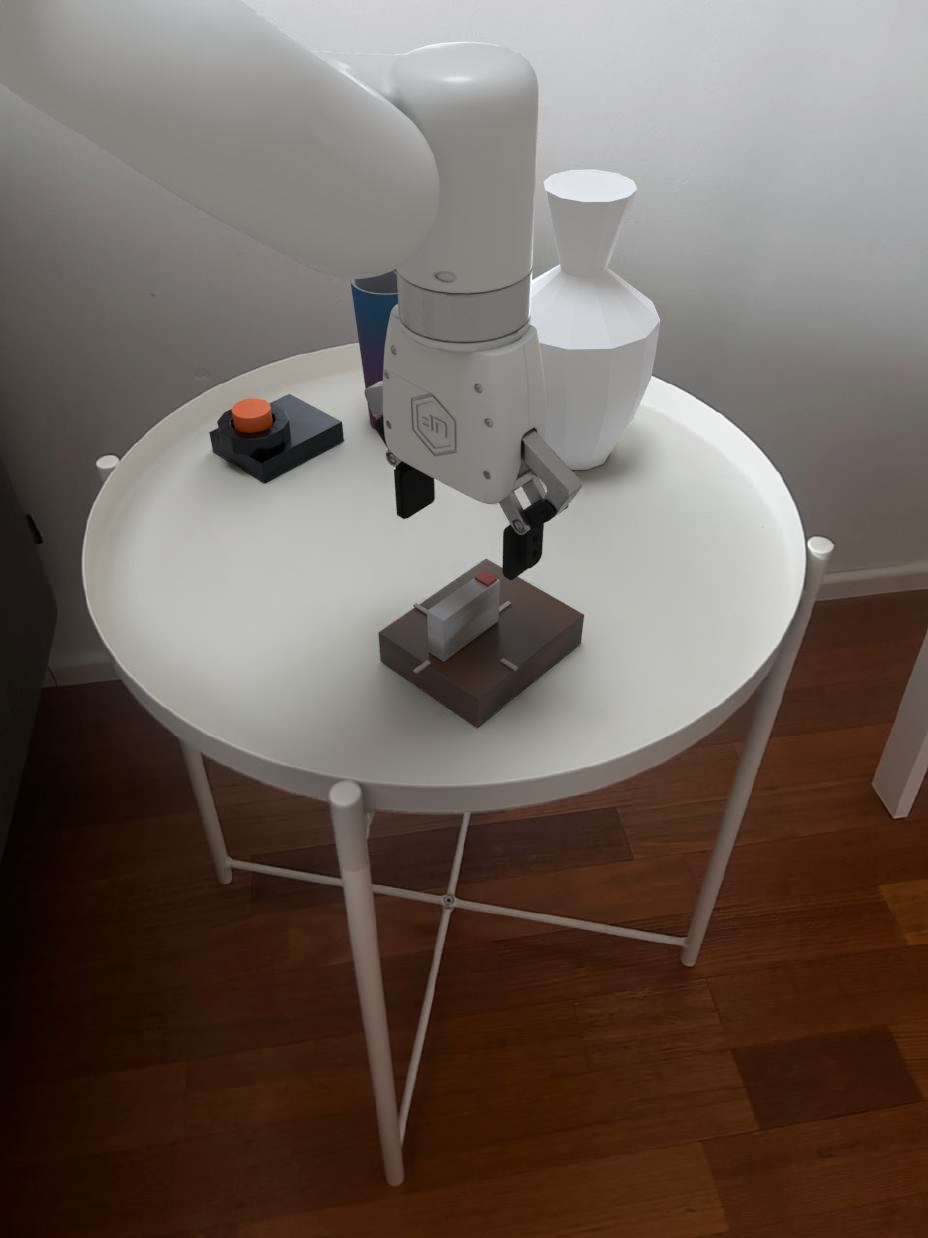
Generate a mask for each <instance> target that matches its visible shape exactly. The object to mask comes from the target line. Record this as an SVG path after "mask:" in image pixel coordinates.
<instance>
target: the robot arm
mask: <svg viewBox="0 0 928 1238" xmlns="http://www.w3.org/2000/svg"><path fill="white" fill-rule="evenodd" d="M0 85H2V86H3V87H5V88H6V89H8V90H9V91H10V92H12V93H13V94H15V95H16V96H17V97H19V98H20V99H21V100H23V101H24V102H26V103H27V104H28V105H30V106H32V107H33V108H34V109H36V110H38V111H40V112H41V113H43V114H44V115H46V116H47V117H49V118H52V119H53V120H54V121H56V122H57V123H60V124H61V125H63V126H65V127H67V128H68V129H70V130H72V131H74V132H75V133H77V134H79V135H80V136H82V137H83V138H85V139H86V140H88V141H89V142H92V143H93V144H95V145H96V146H98V147H100V148H101V149H103V150H105V151H106V152H108V153H109V154H111V155H112V156H114V157H115V158H117V159H118V160H120V161H121V162H123V163H124V164H125V165H127V166H129V167H130V168H132V169H134V170H135V171H137V172H138V173H139V174H141V175H143V176H145V177H146V178H148V179H149V180H151V181H153V182H154V183H156V184H157V185H159V186H161V187H162V188H163V189H165V190H166V191H169V192H170V193H172V194H173V195H174V196H176V197H178V198H180V199H181V200H183V201H185V202H186V203H188V204H190V205H192V206H193V207H195V208H196V209H199V210H200V211H202V212H204V213H206V214H207V215H209V216H211V217H212V218H214V219H216V220H217V221H220V222H221V223H223V224H225V225H227V226H229V227H230V228H233V229H234V230H236V231H238V232H240V233H242V234H244V235H246V236H248V237H250V238H251V239H253V240H255V241H257V242H259V243H261V244H262V245H265V246H267V247H268V248H270V249H272V250H274V251H276V252H278V253H280V254H282V255H284V256H285V257H287V258H289V259H291V260H293V261H295V262H297V263H299V264H301V265H303V266H304V267H307V268H310V269H311V270H314V271H316V272H318V273H321V274H324V275H327V276H331V277H335V278H336V277H337V278H342V279H349V280H350V279H365V278H371V277H377V276H380V275H383V274H385V273H388V272H391V271H393V272H394V273H395V274H396V275H397V291H398V304H397V305H395V306H394V307H393V309H392V310H391V314H390V318H389V323H388V328H387V335H386V341H385V351H384V366H383V381H380V382H378V383H376V384H374V385H372V386H370V387H368V388H366V389H365V388H364V391H363V392H364V393H363V394H364V397H365V399H366V402H368V403H367V405H368V404H369V407H370V409H371V412H372V414H373V417H376V420H375V423H374V424H375V429H376V430H375V429H374V430H375V431H376V432H377V434H378V435H379V437H380V438H381V441H382V442H383V443H384V445H385V447H386V449H387V450H386V451H385V459H386V462H387V463H388V464H389V465H390V466H391V467H393V468H394V469H393V478H394V479H393V480H394V492H395V494H394V496H395V508H396V516H397V517H399V518H401V519H402V520H406V519H410V518H411V517H413V516H414V515H416V514H417V513H419V512H421V511H422V510H423V509H425V508H427V507H429V506H430V505H432V504H433V503H434V502H435V499H436V488H435V480H436V481H438V482H440V483H441V484H444V485H446V486H447V487H449V488H451V489H453V490H455V491H457V492H458V493H461V494H463V495H465V496H467V497H469V498H470V499H473V500H475V501H477V502H480V503H482V504H487V505H497V504H499V507H500V508H501V510H502V511H503V513H504V516H505V517H506V519H507V521H508V523H509V525H507V526H505V528H504V529H503V530H502V531H503V532H502V566H501V567H502V573H503V576H504V577H505V578H507V579H509V580H513V579H515V578H516V577H519V576H521V575H522V574H523V573H524V572H526V571H527V570H530V569H532V568H533V567H535V566H536V565H537V564H538V563H539V562H540V560H541V559H542V556H543V547H544V546H543V545H544V544H543V543H544V531H545V530H544V529H545V523H549V521H551V520H552V519H554V518H556V517H558V515H559V514H561V513H563V512H564V511H565V510H567V509H568V508H569V504H570V503H572V501H573V500H574V499H575V497H576V496H577V495H578V493H580V491H581V490H582V488H583V483H582V480H581V479H580V477H578V475H577V474H576V473H575V472H574V470H571V469H570V468H569V467H568V466H567V465H566V464H565V463H564V462H563V460H562V459H561V458H560V457H559V456H558V455H557V454H556V453H555V452H554V451H553V450H552V449H551V448H550V447H549V445H548V444H547V443H546V442H545V441H546V406H545V386H544V375H543V365H542V358H541V350H540V344H539V339H538V333H537V329H536V328H535V327H534V326H532V325H531V324H530V322H531V293H532V280H533V267H534V266H533V265H534V242H535V241H534V239H535V211H536V187H537V186H536V184H537V157H538V134H539V133H538V131H539V103H540V100H539V82H538V77H537V74H536V71H535V68H534V66H533V65H532V63H531V61H530V60H529V59H527V58H526V56H524V55H523V54H522V53H520V52H519V51H517V50H515V49H511V48H509V47H507V46H503V45H499V44H495V43H489V42H479V41H450V42H440V43H434V44H428V45H425V46H422V47H417V48H415V49H412V50H410V51H408V52H406V53H353V52H339V51H338V52H336V51H326V50H325V51H323V50H310V49H309V48H307V47H306V46H305V45H304V44H302V43H300V41H298V40H297V39H295V38H293V37H292V36H291V35H289V34H288V33H286V32H285V31H284V30H283V29H281V28H279V26H276V25H275V24H274V23H272V22H271V21H269V20H268V19H267V18H266V17H265V16H263V15H262V14H260V13H259V12H257V11H256V10H255V9H253V8H251V6H249V5H248V4H246V3H245V2H244V1H242V0H0ZM541 481H542V482H541ZM542 483H543V484H544V486H545V487H546V490H545V488H544V486H543V484H542ZM520 488H521V489H522V490H523V493H524V494H525V496H526V497H527V500H528V501H529V503H530V504H529V505H528V506H526V507H525V508H523V505H522V504H521V502H520V500H519V498H518V495H516V493H515V491H517V490H518V489H520Z"/></svg>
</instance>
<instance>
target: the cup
mask: <svg viewBox="0 0 928 1238" xmlns="http://www.w3.org/2000/svg"><path fill="white" fill-rule="evenodd" d="M349 280H350V281H349V282H350V288H351V295H352V303H353V310H354V317H355V323H356V331H357V339H358V346H359V352H360V360H361V367H362V374H363V381H364V390H365V389H366V388H368V387H370V386H372V385H374V384H376V383H378V382H380V381H383V366H384V351H385V341H386V335H387V328H388V323H389V318H390V314H391V310H392V309H393V307H394V306H395V305H397V304H398V291H397V275H396V274H395V273H394V272H393V271H391V272H388V273H385V274H383V275H380V276H377V277H371V278H365V279H349ZM366 402H367V401H366ZM367 409H368V417H369V423H370V426H371V427H372V428H373V429H374V430H375V431H376V429H375V424H374V423H375V420H376V417H373V414H372V412H371V409H370V407H369V404H368V402H367Z"/></svg>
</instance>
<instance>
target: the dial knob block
mask: <svg viewBox="0 0 928 1238" xmlns="http://www.w3.org/2000/svg"><path fill="white" fill-rule="evenodd" d="M482 571H486V572H487V573H489V574H491V575H492V576H494V577H496V578H497V579H498V580H500V596H499V621H498V622H497V623H495V624H494V625H493V626H491V627H490V628H489V629H487V630H486V631H485V632H483V633H482V634H481V635H479V636H478V637H477V638H475V639H474V640H472V641H471V642H470V643H468V644H467V645H466V646H464V647H463V648H462V649H460V650H459V651H458V652H456V653H455V654H454V655H452V656H451V657H450V658H448V659H447V660H446V661H444V662H443V661H442V660H440V659H439V658H437V657H436V656H434V655H433V654H431V653H430V652H429V651H428V626H427V611H428V610H429V609H431V608H432V607H433V606H435V605H436V604H438V603H439V602H441V601H442V600H443V599H445V598H446V597H448V596H449V595H451V594H452V593H454V592H455V591H456V590H458V589H459V588H461V587H462V586H464V585H465V584H466V583H468V582H469V581H471V580H472V579H474V578H475V576H477V575H478V574H479V573H481V572H482ZM584 620H585V614H584V613H582V612H580V611H578V610H577V609H575V608H573V607H572V606H570V605H568V604H566V603H564V602H563V601H561V600H559V599H558V598H556V597H555V596H553V595H551V594H549V593H547V592H545V591H544V590H542V589H540V588H539V587H537V586H535V585H533V584H532V583H530V582H528V581H526V580H525V579H523V578H521V577H519V576H518V577H516V578H515V579H513V580H509V579H507V578H505V577H504V576H503V573H502V566H500V565H498V564H496V563H495V562H493V561H492V560H490V559H488V558H484V559H483V560H481V561H480V562H479V563H477V564H475V565H474V566H473V567H471V568H470V569H469V570H467V571H466V572H464V573H463V574H460V576H458V577H457V578H455V579H454V580H452V581H451V582H449V583H448V584H447V585H445V586H444V587H442V588H441V589H440V590H438V591H437V592H435V593H434V594H432V595H430V596H429V597H428V598H426V599H425V600H424V601H422V602H420V603H417V602H416V603H414V604H413V608H412V609H410V610H409V611H408V612H406V613H405V614H403V615H402V616H400V617H399V618H397V619H396V620H394V621H393V622H391V623H390V624H388V625H387V626H386V627H384V628H382V629H381V630H380V631H379V632H378V633H377V635H378V647H379V659H380V662H381V663H383V664H384V665H385V666H387V667H388V668H389V669H391V670H393V671H394V672H395V673H397V674H398V675H400V676H401V677H403V678H404V679H406V680H407V681H408V682H410V683H412V684H413V685H414V686H416V687H418V688H419V689H420V690H422V691H423V692H424V693H426V694H427V695H429V696H430V697H432V698H433V699H435V701H437V702H439V703H440V704H442V705H443V706H445V707H446V708H448V709H449V710H450V711H452V712H453V713H455V714H456V715H458V716H459V717H461V718H462V719H463V720H465V721H467V722H468V723H469V724H470V725H472V726H474V727H475V728H479V727H480V726H482V725H483V724H484V723H486V722H487V721H488V720H489V719H491V718H492V717H493V716H494V715H495V714H496V713H497V712H500V710H502V708H504V707H505V706H507V705H508V704H509V703H510V702H511V701H513V700H514V699H515V698H516V697H518V695H520V694H521V693H522V692H524V691H525V690H526V689H527V688H528V687H529V686H531V685H532V684H533V683H535V682H536V681H537V680H538V679H539V678H540V677H542V676H543V675H544V674H546V672H548V671H549V670H550V669H552V668H553V667H554V666H555V665H556V664H557V663H559V662H560V661H561V660H562V659H564V658H565V656H566V657H567V655H569V654H570V653H571V652H572V651H573V650H575V649H576V648H577V647H578V646H580V644H582V637H583V630H584V629H583V628H584Z"/></svg>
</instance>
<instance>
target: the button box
mask: <svg viewBox="0 0 928 1238" xmlns="http://www.w3.org/2000/svg"><path fill="white" fill-rule="evenodd" d="M268 403H269V404H270V406H271V413H272V420H273V424H272V426H271V427H270V428H268V429H266V430H264V431H259V432H253V433H246V432H239V431H237V430H236V429H235V427H234V422H233V416H232V408H231V409H230V408H229V409H228V410H226V411H224V412H223V413H222V414H221V416H220V417H219V418H218V420H216V421H217V422H216V424H217V428H215V429H213V430H211V431H209V432H208V434H209V439H210V444H211V450H212V452H213V453H215V454H216V455H218V456H219V457H221V458H223V459H225V460H226V461H228V462H230V463H231V464H233V465H234V466H236V467H237V468H239V469H241V470H242V471H244V472H245V473H247V474H250V475H251V476H252V477H254V478H255V479H257V480H259V481H260V482H262V483H263V484H266V483H267V482H269V481H272V480H273V479H276V478H277V477H279V476H281V475H283V474H284V473H287V472H288V471H290V470H293V469H294V468H295V467H298V466H299V465H302V464H303V463H305V462H307V461H309V460H311V459H313V458H314V457H317V456H318V455H320V454H322V453H324V452H326V451H328V450H329V449H331V448H334V447H336V446H337V445H339V444H341V443H344V442H345V436H344V427H343V426H344V425H343V421H342V420H339V419H338V418H336V417H334V416H332V415H330V414H329V413H327V412H325V411H323V410H321V409H319V408H317V407H315V406H313V405H311V404H309V403H308V402H306V401H304V400H302V399H300V398H298V397H296V396H295V395H293V394H291V393H288V394H286V395H283V396H281V397H280V398H278V399H276V400H273V401H271V402H268Z"/></svg>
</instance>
